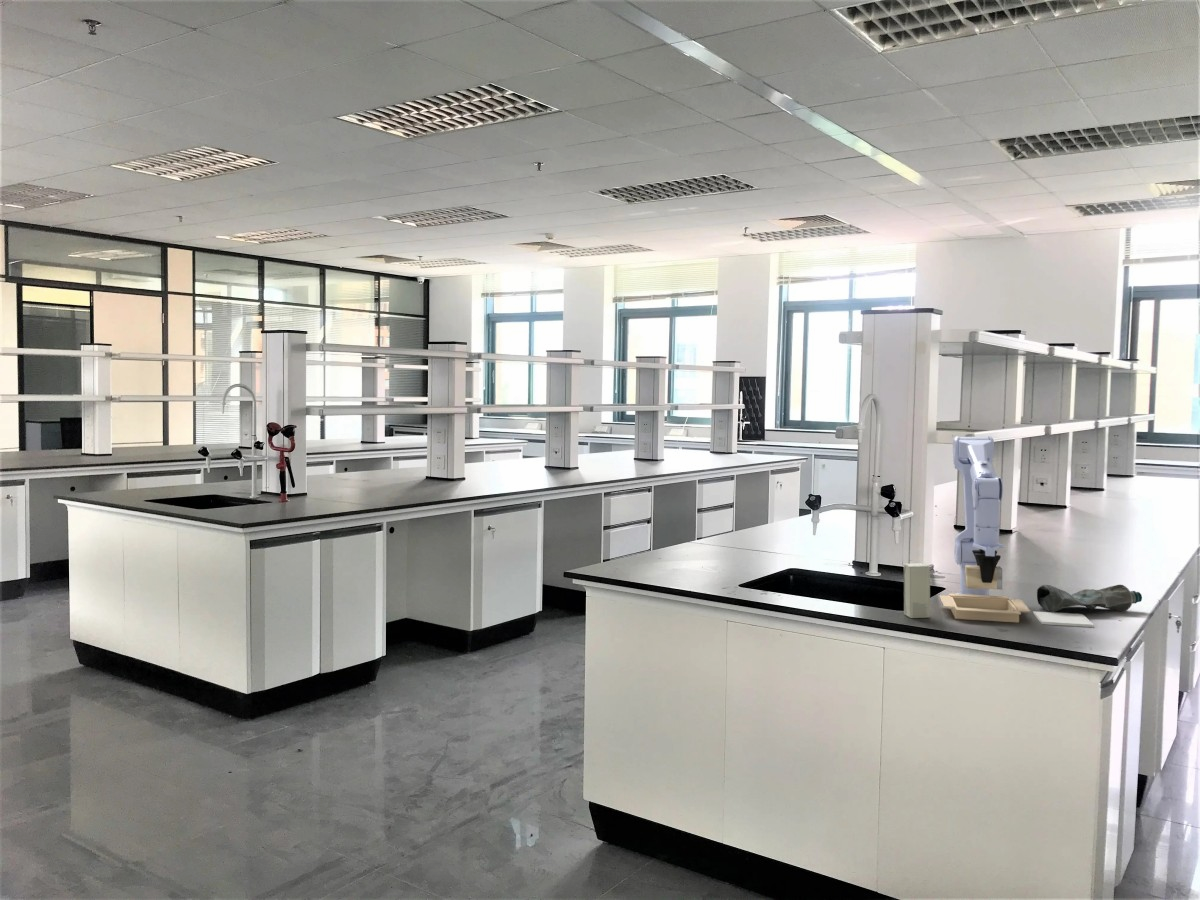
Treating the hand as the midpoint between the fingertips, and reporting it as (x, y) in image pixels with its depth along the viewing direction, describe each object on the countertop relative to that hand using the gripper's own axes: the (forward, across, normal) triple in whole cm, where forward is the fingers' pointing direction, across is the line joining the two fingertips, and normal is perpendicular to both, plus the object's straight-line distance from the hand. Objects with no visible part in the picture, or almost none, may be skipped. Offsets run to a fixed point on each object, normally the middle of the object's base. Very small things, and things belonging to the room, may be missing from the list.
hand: (985, 580), depth 220 cm
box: (+9, -7, +16) cm, 20 cm away
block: (+2, 0, 0) cm, 2 cm away
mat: (+8, -2, -17) cm, 19 cm away
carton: (+8, 0, 0) cm, 8 cm away
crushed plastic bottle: (+9, +11, -26) cm, 29 cm away
